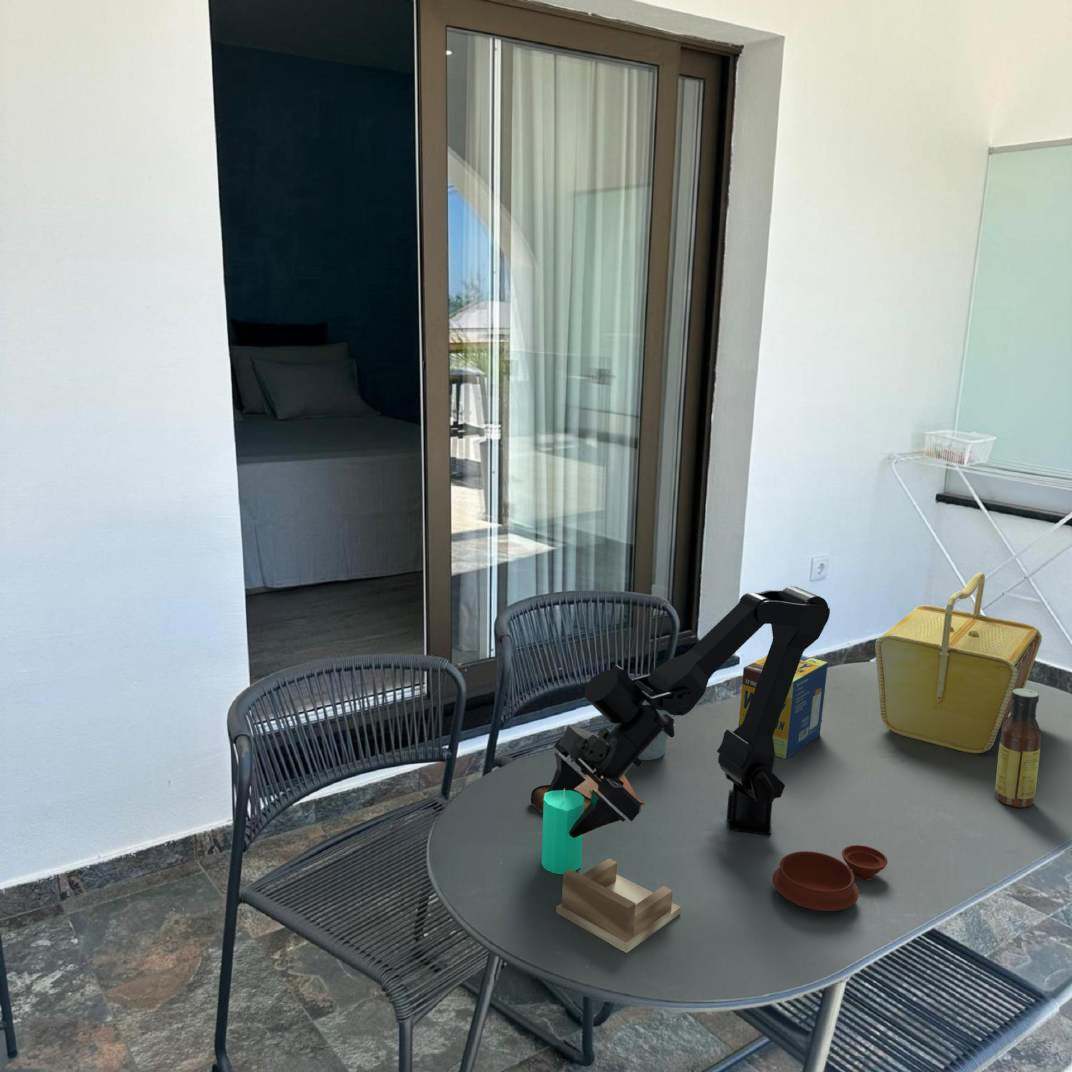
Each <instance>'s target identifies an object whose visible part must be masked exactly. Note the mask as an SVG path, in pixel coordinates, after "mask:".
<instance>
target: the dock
mask: <svg viewBox="0 0 1072 1072" xmlns="http://www.w3.org/2000/svg"><path fill="white" fill-rule="evenodd" d="M617 867H618V861H615V860H613V859H611V858H607V859H605V860H603V861H601V862H599V863H598V864H596V865H595V866H594V867H592V868H590V869H589V870H587V871H586V872H584V873H582V874H581V873H579V872H577V871H576V872H575V871H573V870H572V869H569V870H568V871H566V872H564V873H563V874H562V891H561V903H560V904H558V905H556V909H555V912H556V914H557V915H559V916H561V917H563V918H565V919H566V920H568V921H570V922H571V923H573V924H575V925H577V926H579V927H580V928H582V929H583V930H586V931H587V932H589V933H591V934H592V935H594V936H596V937H598V938H599V939H601V940H603V941H604V942H607V943H608V944H610V945H612V946H613V947H615V948H617V949H618V950H620V951H623V952H624V953H625V954H628V953H629V952H630V951H631V950H633V949H635V948H636V947H637V946H638V945H640V944H641V943H643V942H644V941H646V940H647V939H648V938H649V937H651V936H652V935H653V934H655V933H656V932H657V931H658V930H660V929H661V928H662V927H664V926H665V925H667V924H668V923H669V922H671V921H673V920H674V919H675V918H676V917H677V916H679V915H680V914H681V908H682V907H681V906H680V905H678V904H675V903H673V893H674V891H673V889H671V888H669V887H667V886H666V885H662V886H661V887H659V888H658V889H657V890H655V891H654V892H652V891H650V890H649V889H646V888H644V887H643V886H640V885H639V884H637V883H634V882H633V881H631V880H628V879H627V878H625V877H623V876H622V875H621V876H620V875H619V874H617V871H618V868H617Z"/></svg>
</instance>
